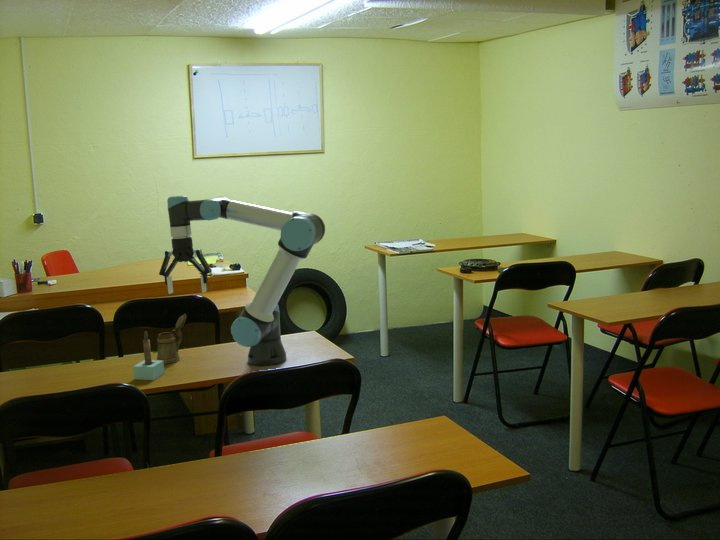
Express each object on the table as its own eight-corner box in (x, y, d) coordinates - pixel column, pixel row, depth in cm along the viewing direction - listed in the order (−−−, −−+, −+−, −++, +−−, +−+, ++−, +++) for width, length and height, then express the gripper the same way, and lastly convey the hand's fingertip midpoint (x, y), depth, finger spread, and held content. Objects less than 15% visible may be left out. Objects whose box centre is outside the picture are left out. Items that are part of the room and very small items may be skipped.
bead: (164, 373, 264) (163, 360, 263) (154, 380, 257) (152, 367, 256) (145, 372, 266) (144, 359, 265) (134, 379, 258) (133, 366, 257)
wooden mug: (193, 358, 282) (190, 315, 279) (160, 365, 274) (157, 321, 271) (185, 354, 289) (182, 311, 286) (153, 360, 282) (149, 317, 278)
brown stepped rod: (153, 375, 262) (150, 330, 259) (150, 377, 260) (146, 332, 257) (148, 375, 263) (144, 330, 260) (144, 377, 260) (140, 332, 257)
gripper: (216, 234, 262) (222, 289, 266) (155, 237, 267) (161, 291, 270) (208, 236, 255) (214, 293, 259) (146, 240, 260) (152, 295, 263)
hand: (187, 292), depth 265 cm, fingers open, 13 cm apart
